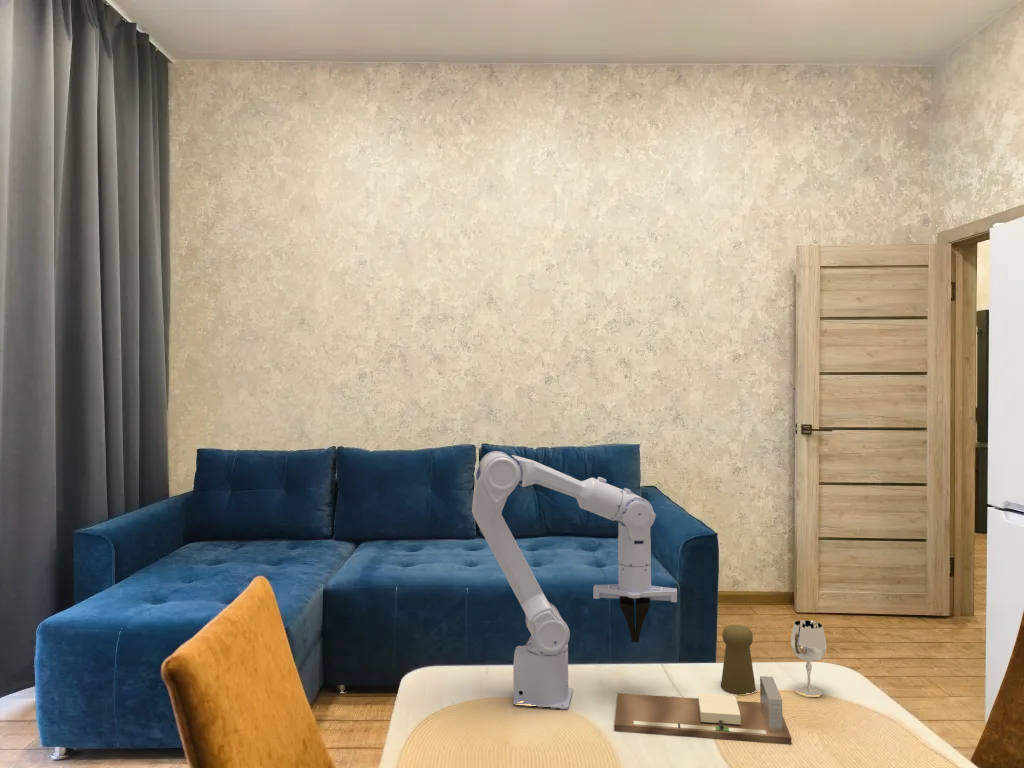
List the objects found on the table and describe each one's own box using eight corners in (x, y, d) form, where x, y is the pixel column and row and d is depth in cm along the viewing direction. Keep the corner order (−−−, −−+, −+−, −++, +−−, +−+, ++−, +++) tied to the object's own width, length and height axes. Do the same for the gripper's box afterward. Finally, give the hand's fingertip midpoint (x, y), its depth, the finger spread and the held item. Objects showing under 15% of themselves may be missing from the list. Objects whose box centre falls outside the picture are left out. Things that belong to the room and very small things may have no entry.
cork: (758, 696, 128) (757, 633, 128) (722, 693, 129) (721, 631, 129) (753, 682, 134) (753, 622, 134) (719, 680, 135) (718, 620, 135)
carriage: (701, 727, 114) (701, 717, 114) (698, 702, 123) (698, 693, 123) (742, 730, 113) (741, 720, 113) (735, 705, 122) (735, 696, 122)
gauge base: (614, 730, 116) (614, 723, 116) (617, 698, 128) (617, 692, 128) (791, 744, 111) (791, 736, 111) (777, 709, 123) (777, 702, 123)
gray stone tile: (768, 731, 113) (768, 698, 113) (760, 706, 122) (760, 676, 122) (782, 732, 113) (782, 699, 113) (773, 707, 122) (772, 676, 122)
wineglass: (786, 693, 129) (785, 624, 129) (799, 683, 134) (798, 617, 134) (819, 702, 125) (818, 632, 125) (831, 691, 130) (831, 623, 130)
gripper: (591, 567, 128) (592, 645, 127) (677, 570, 125) (678, 650, 125) (594, 557, 134) (595, 632, 134) (676, 560, 132) (676, 636, 132)
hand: (635, 640), depth 130 cm, fingers closed
